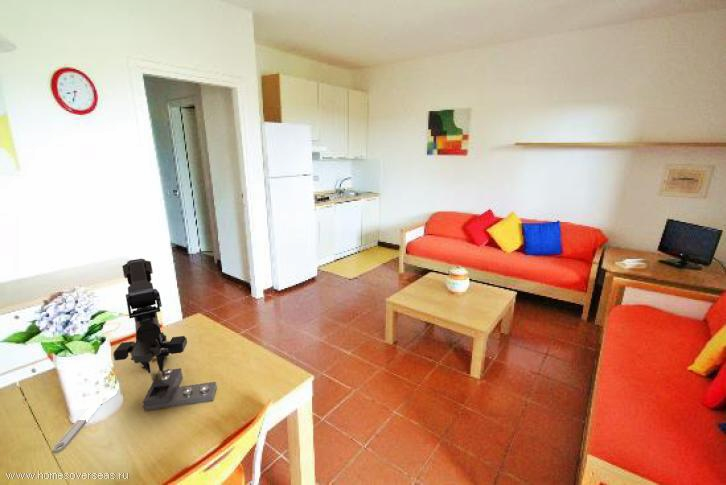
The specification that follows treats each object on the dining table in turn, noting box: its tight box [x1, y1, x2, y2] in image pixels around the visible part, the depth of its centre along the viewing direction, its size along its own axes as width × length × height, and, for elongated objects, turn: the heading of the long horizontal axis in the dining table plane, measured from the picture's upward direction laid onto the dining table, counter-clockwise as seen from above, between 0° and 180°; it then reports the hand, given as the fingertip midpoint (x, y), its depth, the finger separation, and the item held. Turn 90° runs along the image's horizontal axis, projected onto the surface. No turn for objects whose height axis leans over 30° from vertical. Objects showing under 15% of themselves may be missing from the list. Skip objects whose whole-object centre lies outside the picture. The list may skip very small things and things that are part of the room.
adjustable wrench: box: [52, 419, 88, 454], centre depth 104 cm, size 25×6×2 cm, turn 2°
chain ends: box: [142, 368, 218, 412], centre depth 114 cm, size 15×20×5 cm
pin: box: [149, 355, 163, 382], centre depth 107 cm, size 4×4×9 cm
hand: (156, 371), depth 108 cm, fingers closed on pin, 3 cm apart
